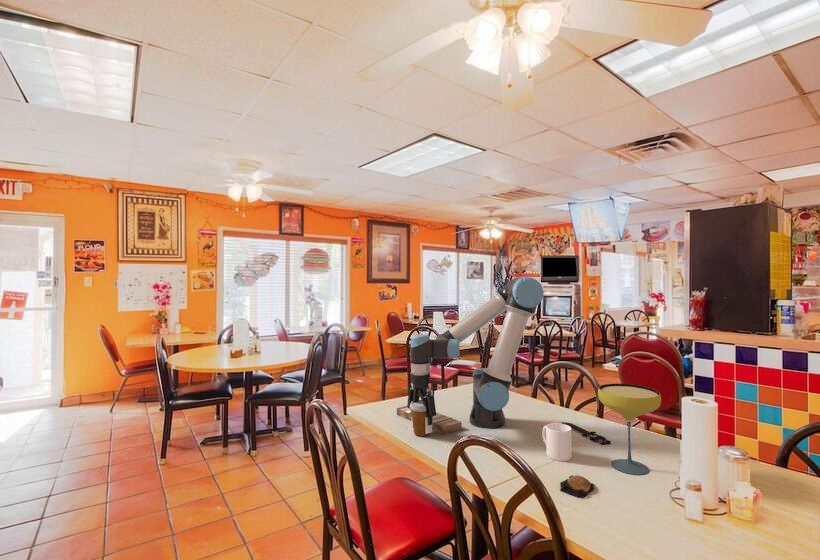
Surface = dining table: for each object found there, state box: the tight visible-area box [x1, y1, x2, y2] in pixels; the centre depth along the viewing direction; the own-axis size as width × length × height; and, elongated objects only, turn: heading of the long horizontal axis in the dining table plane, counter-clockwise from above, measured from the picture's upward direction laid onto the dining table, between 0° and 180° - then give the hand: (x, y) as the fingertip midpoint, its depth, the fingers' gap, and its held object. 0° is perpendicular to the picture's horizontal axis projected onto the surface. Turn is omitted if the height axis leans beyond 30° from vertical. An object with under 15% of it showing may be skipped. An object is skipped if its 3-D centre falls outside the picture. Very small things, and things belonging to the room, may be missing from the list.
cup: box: [541, 422, 573, 462], centre depth 144 cm, size 8×12×10 cm
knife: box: [561, 421, 612, 446], centre depth 164 cm, size 25×6×1 cm, turn 13°
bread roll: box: [559, 474, 596, 499], centre depth 121 cm, size 11×8×4 cm
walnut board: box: [396, 405, 463, 436], centre depth 180 cm, size 32×10×3 cm, turn 37°
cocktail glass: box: [597, 383, 662, 476], centre depth 134 cm, size 18×18×25 cm
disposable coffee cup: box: [410, 399, 430, 437], centre depth 165 cm, size 10×10×12 cm
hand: (421, 429), depth 165 cm, fingers closed on disposable coffee cup, 8 cm apart
